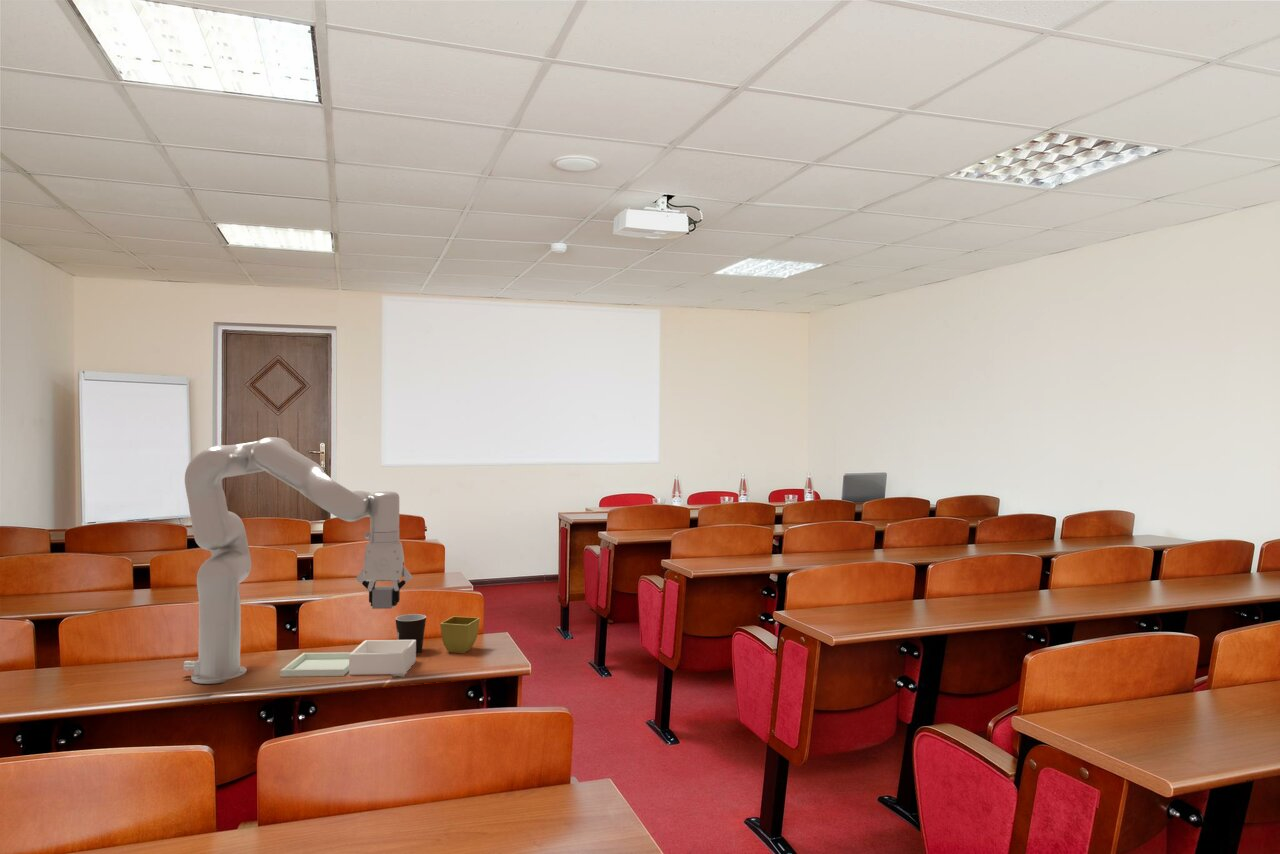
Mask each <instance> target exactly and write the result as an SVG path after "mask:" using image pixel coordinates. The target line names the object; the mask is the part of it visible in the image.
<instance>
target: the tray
mask: <svg viewBox="0 0 1280 854" xmlns="http://www.w3.org/2000/svg"><path fill="white" fill-rule="evenodd" d="M351 652H352V651H351ZM351 652H349V651H347V652H343V651H342V652H302V653H301V654H300V655H298V656H297V657H296V658H294V659H293V660H292V661H291V662H289V663H288V664H287V665H285V666H284V667H283V668H281V669H280V670H279V671H280V672H279V673H280V674H279V677H280V678H283V677H284V678H285V677H286V678H289V677H292V678H293V677H294V678H295V677H297V678H298V677H302V678H303V677H342V676H343V677H344V676H345V675H346V674H347V673H349V654H350V653H351Z"/></svg>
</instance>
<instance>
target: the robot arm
mask: <svg viewBox="0 0 1280 854" xmlns="http://www.w3.org/2000/svg"><path fill="white" fill-rule="evenodd" d="M260 472H266V473H267V474H269V475H271V476H272V477H275V478H276V479H278V480H279V481H281V482H283V483H285V484H286V485H288V486H290V487H291V488H293V489H294V490H296V491H298V492H300V494H301V495H302V496H304V497H306V498H307V499H309V501H311V502H312V503H314V504H315V505H317V506H318V507H320V508H321V509H323V510H324V511H326V512H327V513H329V514H331V515H333V516H335V517H336V518H337V519H339V520H343V521H345V522H348V523H349V522H351V523H352V522H357V521H359V520H361V519H363V518H370V519H369V521H370V522H369V532H367V533H365V532H364V539H367V540H369V542H368V543H367V542H366V546H365V550H364V558H363V568H362V570H361V571H360V572H359V573H358V574H357V576H356V578H355V579H356V581H358V582H359V583H360V584H362V586H364V588H366V590H367V592H368V602H369V603H370V607H372V590H373V589H374V588H376V585H377V582H391V583H392V586H393V587H394V591H393V592H392V606H394V607H396V606H397V605H398V604H399V602H400V594H401V593H400V590H401V589H402V588H403V587H404V586H405V585H406V584H407V583H408V582H410V581H411V580H412V579H413V575H412V574H411V573H410V571H409V570H408V569H407V567H406V566H405V555H404V554H405V553H404V549H403V548H404V547H403V543H402V541H400V495H399V493H398V492H396V491H375V492H370V491H364V490H363V491H362V490H353V491H352V490H349V489H348V488H346V487H345V486H343V485H341V484H340V483H338V482H337V481H335V480H334V479H332V478H331V477H330V476H329V475H327V473H326V472H325V471H324V469H323V467H322V466H321V465H320V464H319V463H317V462H315V461H314V460H312V459H310V458H309V457H306V456H305V455H303V454H302V453H301V452H299V451H297V450H295V449H294V448H293V447H292V445H291V443H289V441H287V440H286V439H284V438H282V437H271V436H270V437H269V436H268V437H264V438H260V439H259V440H256V441H250V442H246V443H245V442H243V443H238V444H227V445H225V444H220V445H219V444H218V445H213V446H210V447H207V448H205V449H204V450H202V451H199V453H197V454H196V455H195V456H194V457H193V458H192V459H191V460H190V461H189V463H188V465H187V466H186V469H185V472H184V487H185V492H186V497H187V502H188V509H189V514H190V515H189V516H190V520H191V526H192V532H193V537H194V538H193V539H194V541H195V543H196V544H197V545H198V547H199V548H200V549H203V550H205V551H209V552H210V557H209V558H207V559H206V560H205V561H203V562H202V564H200V567H199V569H198V571H197V575H196V589H197V593H198V594H197V595H198V659H197V660H195V661H194V660H185V661H183V665H182V666H183V670H184V671H193V673H192V674H191V679H190V680H191V682H193V683H196V684H201V685H203V684H204V685H209V684H210V685H213V684H221V683H226V682H227V681H229V680H232V679H236V678H238V677H241V676H243V675H245V674H246V673H247V670H248V669H247V668H246V667H245V666H242V665H241V632H242V631H241V630H242V629H241V626H242V625H241V623H242V619H241V616H242V615H241V613H242V606H241V595H240V587H239V586H240V584H241V583H242V582H243V581H245V580H246V579H247V578H248V576H249V575H250V573H251V569H252V559H251V558H252V557H251V552H250V548H249V544H248V537H247V532H246V528H245V525H244V524H245V523H244V522H243V520H242V519H241V517H240V516H239V515H238V514H237V513H235V512H233V511H229V510H228V509H229V508H228V506H227V505H228V504H227V497H226V493H225V491H224V489H223V485H222V482H223V479H225V478H231V477H238V476H243V475H248V474H255V473H260ZM403 577H404V579H402V578H403ZM400 579H402V580H401V581H400Z"/></svg>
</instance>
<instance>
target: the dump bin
mask: <svg viewBox="0 0 1280 854" xmlns="http://www.w3.org/2000/svg"><path fill="white" fill-rule="evenodd" d="M416 662H417V654H416V640H398V639H365V640H363V641H362V642H361V643H360V644H359V645H358V646H356V648H355V649H353V650H352V651H351V653H350V654H349V671H348V675H349V676H351V675H352V676H355V675H358V676H359V675H363V676H364V675H365V676H366V675H390V676H404V675H405V674H406V675H407V673H408V672H409V671H410V670H409V669H411V668H412V667H413V666H414V664H415V663H416ZM412 665H413V666H412ZM411 666H412V667H411ZM408 670H409V671H408ZM407 671H408V672H407ZM406 675H405V676H406ZM405 676H404V677H405Z"/></svg>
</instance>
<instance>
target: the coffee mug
mask: <svg viewBox="0 0 1280 854" xmlns="http://www.w3.org/2000/svg"><path fill="white" fill-rule="evenodd" d="M426 621H427V616H426V615H425V614H419V613H412V614H411V613H409V614H402V615H397V616H396V617H395V627H396V637H397V638H396V639H397V640H416V655H418V653H419V654H420V653H422V652H423V645H424V638H425V628H426Z"/></svg>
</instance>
